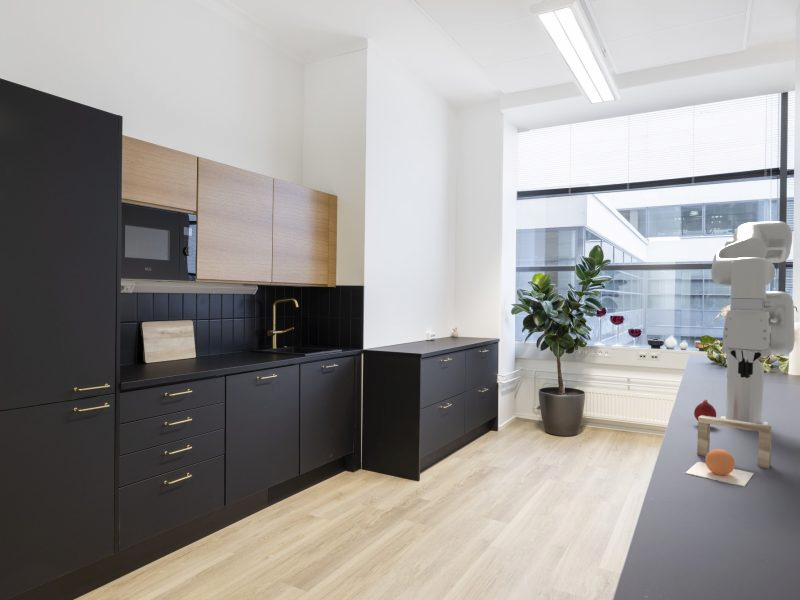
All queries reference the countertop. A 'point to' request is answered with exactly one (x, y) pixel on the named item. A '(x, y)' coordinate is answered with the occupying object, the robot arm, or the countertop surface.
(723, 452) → the ball
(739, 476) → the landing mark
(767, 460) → the bridge
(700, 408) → the onion
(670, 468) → the countertop surface
